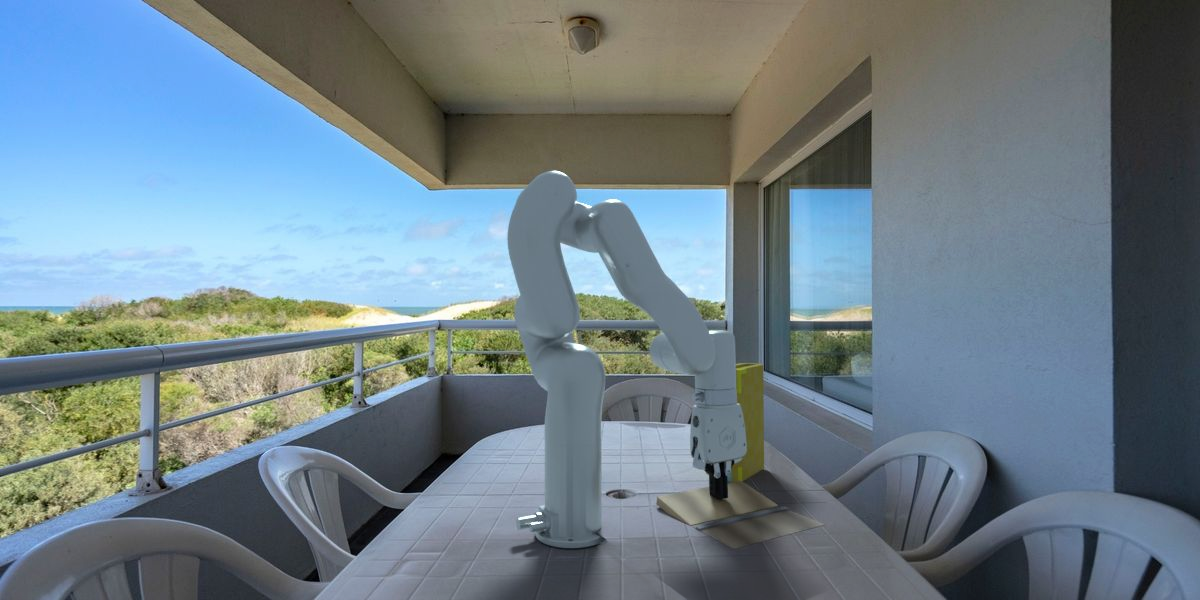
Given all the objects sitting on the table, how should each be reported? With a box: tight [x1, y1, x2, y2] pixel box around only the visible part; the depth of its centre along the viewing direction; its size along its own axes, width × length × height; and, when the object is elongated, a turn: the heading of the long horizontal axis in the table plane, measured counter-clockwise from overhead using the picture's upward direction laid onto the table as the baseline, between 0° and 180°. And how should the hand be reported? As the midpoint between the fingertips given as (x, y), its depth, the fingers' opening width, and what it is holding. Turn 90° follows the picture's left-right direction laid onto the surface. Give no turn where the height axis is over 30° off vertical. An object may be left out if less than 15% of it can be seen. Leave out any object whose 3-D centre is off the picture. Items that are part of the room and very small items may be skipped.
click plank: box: [656, 481, 779, 527], centre depth 102 cm, size 20×10×2 cm, turn 118°
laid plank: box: [691, 505, 826, 550], centre depth 93 cm, size 20×10×2 cm, turn 118°
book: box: [727, 362, 765, 483], centre depth 124 cm, size 17×7×25 cm, turn 143°
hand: (718, 496), depth 103 cm, fingers closed
